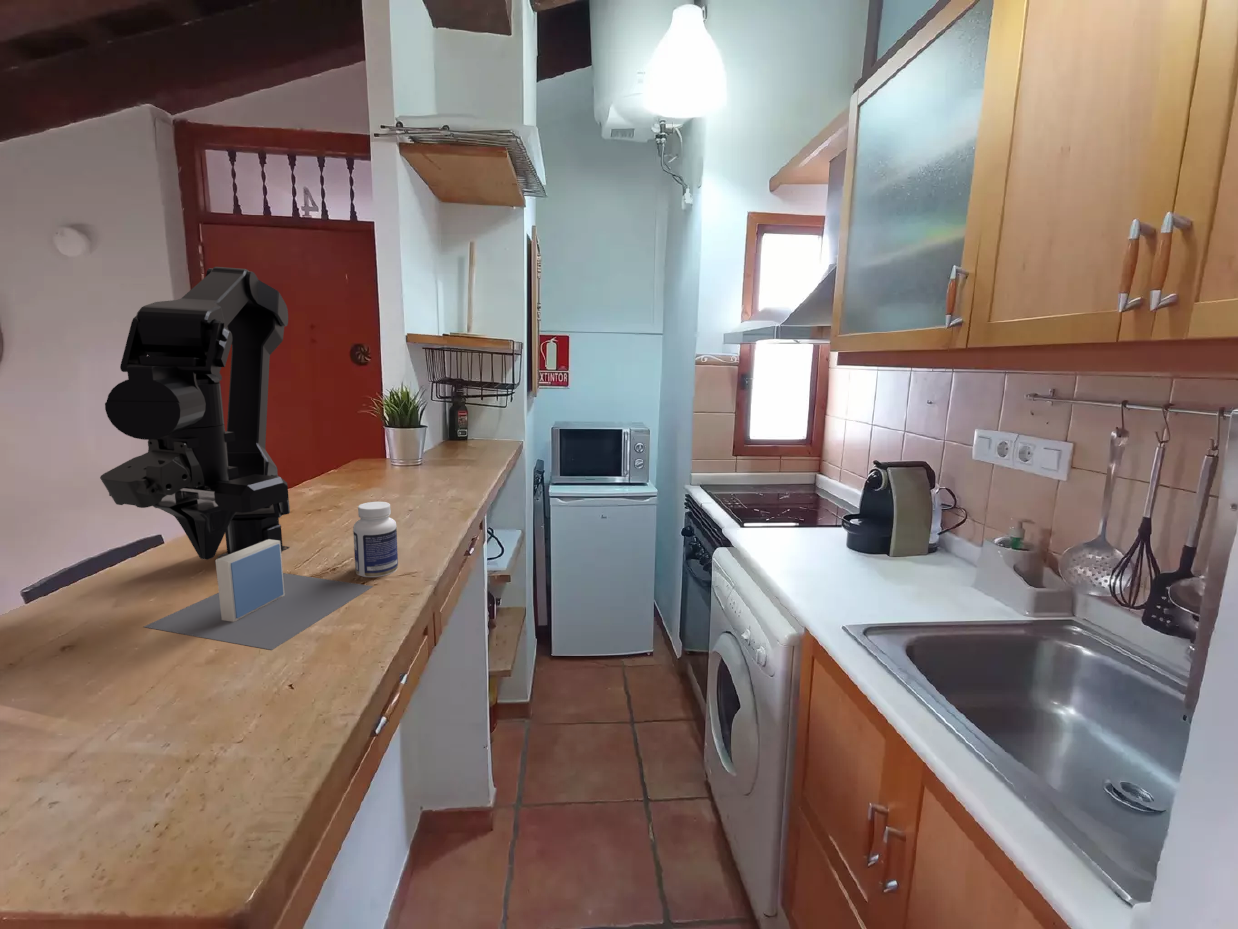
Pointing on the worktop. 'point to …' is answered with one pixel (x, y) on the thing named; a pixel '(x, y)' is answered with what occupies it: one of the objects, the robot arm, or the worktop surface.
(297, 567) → the worktop surface
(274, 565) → the tile
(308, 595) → the mat
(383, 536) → the pill bottle
